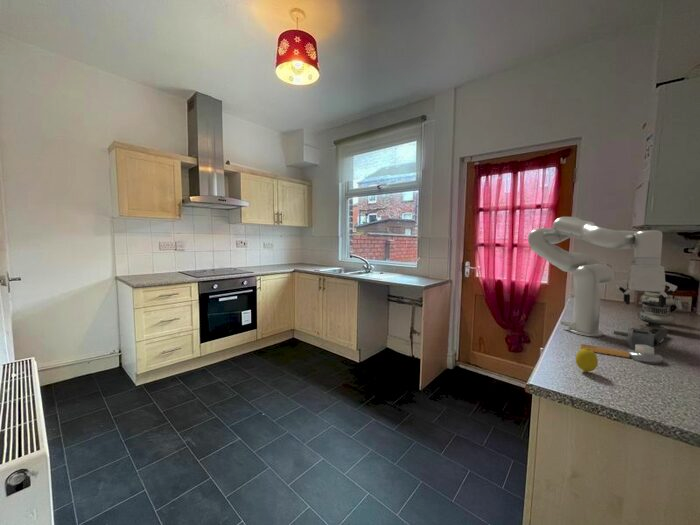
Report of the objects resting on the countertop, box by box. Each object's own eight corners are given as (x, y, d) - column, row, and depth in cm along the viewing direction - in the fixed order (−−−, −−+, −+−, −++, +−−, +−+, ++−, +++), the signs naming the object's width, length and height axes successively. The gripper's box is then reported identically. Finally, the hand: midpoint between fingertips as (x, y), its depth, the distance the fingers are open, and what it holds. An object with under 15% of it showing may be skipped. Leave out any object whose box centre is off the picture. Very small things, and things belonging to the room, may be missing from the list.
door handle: (610, 331, 131) (662, 339, 118) (622, 324, 143) (671, 330, 129) (610, 339, 131) (662, 347, 118) (622, 331, 143) (671, 338, 130)
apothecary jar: (641, 330, 140) (644, 292, 139) (633, 323, 151) (636, 289, 149) (677, 334, 134) (680, 295, 133) (667, 327, 144) (670, 291, 143)
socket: (631, 348, 117) (632, 329, 116) (627, 343, 122) (628, 325, 121) (652, 351, 113) (654, 332, 113) (647, 346, 118) (649, 328, 118)
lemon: (598, 377, 92) (600, 352, 91) (576, 373, 95) (577, 349, 94) (595, 371, 96) (596, 347, 96) (574, 367, 99) (575, 344, 99)
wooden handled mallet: (582, 352, 112) (582, 340, 112) (579, 345, 120) (580, 334, 119) (665, 366, 100) (667, 352, 99) (657, 357, 107) (658, 344, 107)
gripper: (619, 261, 116) (616, 304, 117) (682, 263, 107) (679, 309, 108) (615, 260, 123) (612, 301, 124) (674, 262, 113) (671, 306, 114)
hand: (643, 305), depth 116 cm, fingers open, 9 cm apart
